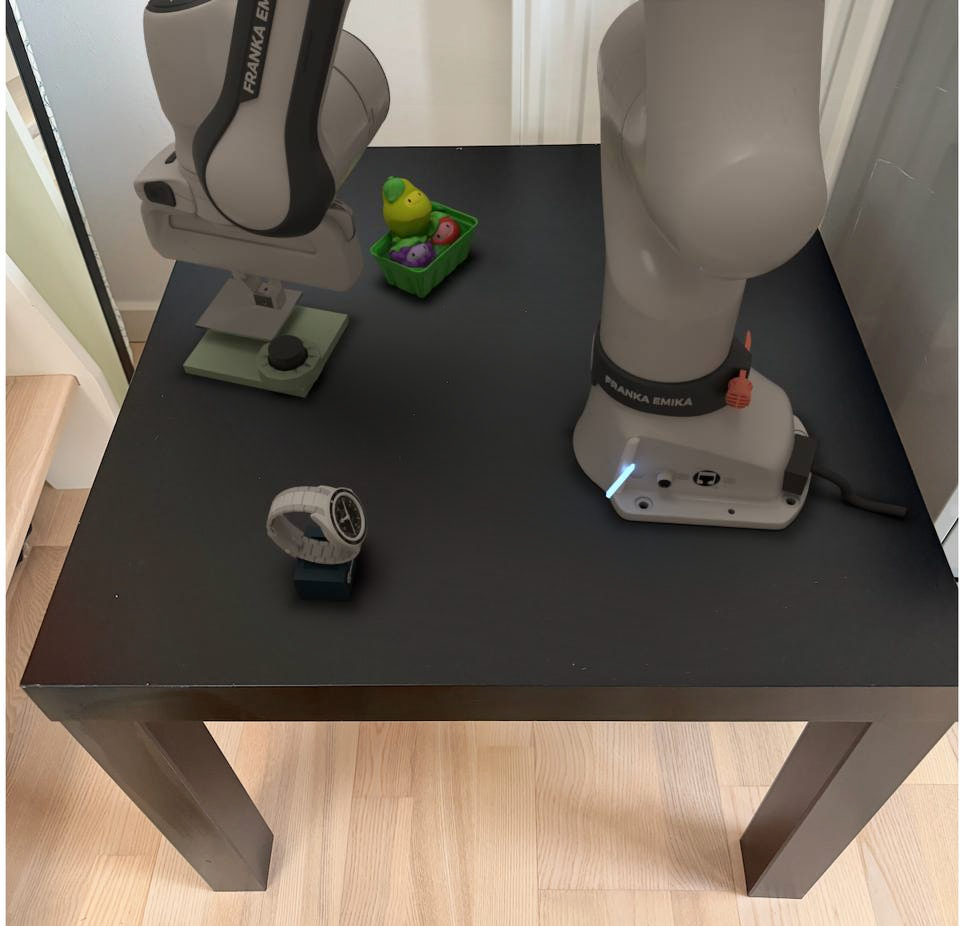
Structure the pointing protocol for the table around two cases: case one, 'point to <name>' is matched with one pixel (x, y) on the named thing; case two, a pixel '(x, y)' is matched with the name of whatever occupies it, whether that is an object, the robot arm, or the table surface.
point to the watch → (320, 539)
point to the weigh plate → (246, 313)
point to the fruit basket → (420, 238)
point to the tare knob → (286, 353)
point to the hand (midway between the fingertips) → (269, 303)
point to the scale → (251, 357)
